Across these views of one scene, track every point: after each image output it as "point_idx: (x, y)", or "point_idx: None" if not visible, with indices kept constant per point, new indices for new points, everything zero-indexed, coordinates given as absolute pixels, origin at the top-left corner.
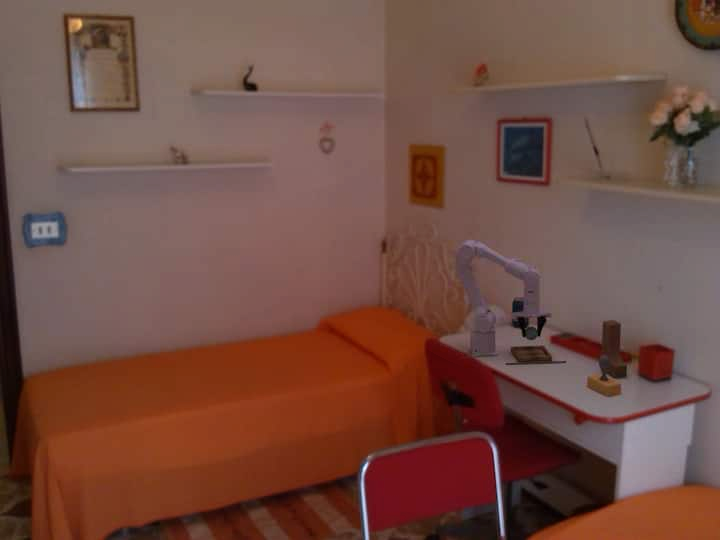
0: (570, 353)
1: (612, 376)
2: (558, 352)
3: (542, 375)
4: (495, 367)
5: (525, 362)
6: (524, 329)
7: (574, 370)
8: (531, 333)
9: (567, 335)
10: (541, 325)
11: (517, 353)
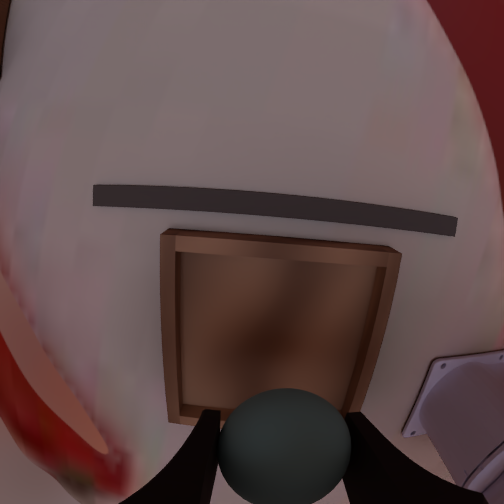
0: (54, 328)
1: (8, 8)
2: (105, 357)
3: (308, 10)
4: (499, 196)
5: (352, 222)
6: (387, 459)
7: (99, 62)
8: (310, 421)
9: (70, 479)
10: (176, 492)
11: (341, 370)
